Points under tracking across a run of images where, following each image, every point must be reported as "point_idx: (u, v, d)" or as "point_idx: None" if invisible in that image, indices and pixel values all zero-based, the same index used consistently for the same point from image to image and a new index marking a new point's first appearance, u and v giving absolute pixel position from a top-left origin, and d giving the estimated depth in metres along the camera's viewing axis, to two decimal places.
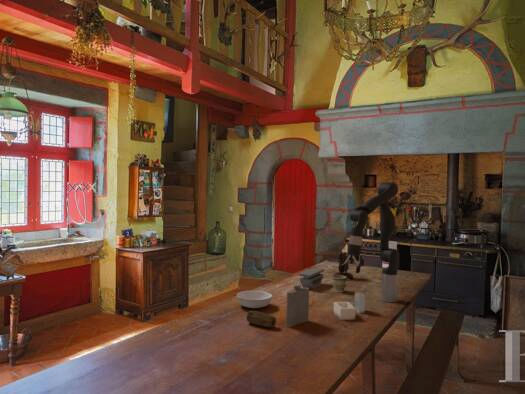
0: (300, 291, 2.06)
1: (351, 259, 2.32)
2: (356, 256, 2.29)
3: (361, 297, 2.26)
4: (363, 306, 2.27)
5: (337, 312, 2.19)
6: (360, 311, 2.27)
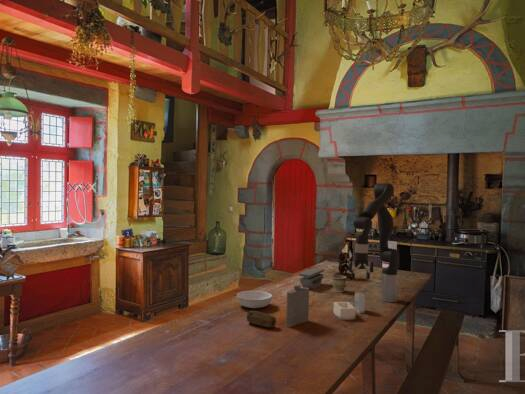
0: (300, 291, 2.06)
1: (360, 267, 2.28)
2: (366, 263, 2.29)
3: (361, 297, 2.26)
4: (363, 306, 2.27)
5: (337, 312, 2.19)
6: (360, 311, 2.27)
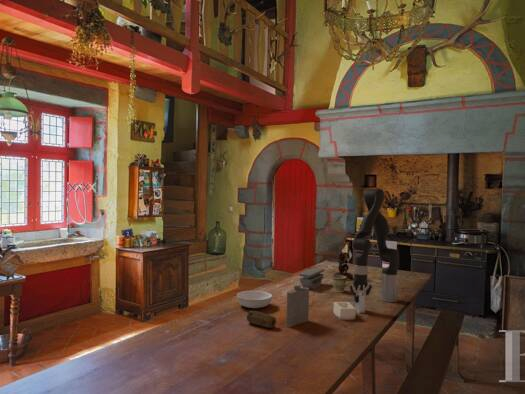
0: (300, 291, 2.06)
1: (360, 289, 2.29)
2: (365, 284, 2.29)
3: (361, 297, 2.26)
4: (363, 305, 2.27)
5: (337, 312, 2.19)
6: (360, 311, 2.27)
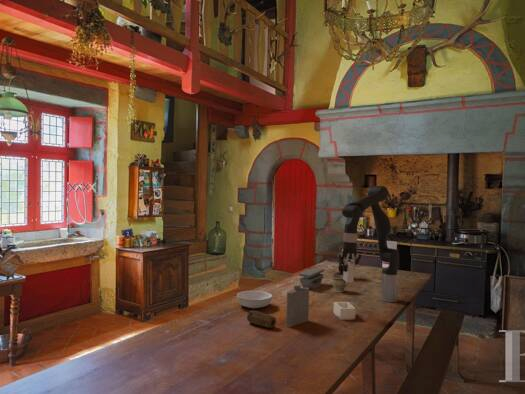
0: (300, 291, 2.06)
1: (349, 257, 2.21)
2: (355, 253, 2.21)
3: (350, 266, 2.18)
4: (352, 275, 2.19)
5: (337, 312, 2.19)
6: (349, 280, 2.18)
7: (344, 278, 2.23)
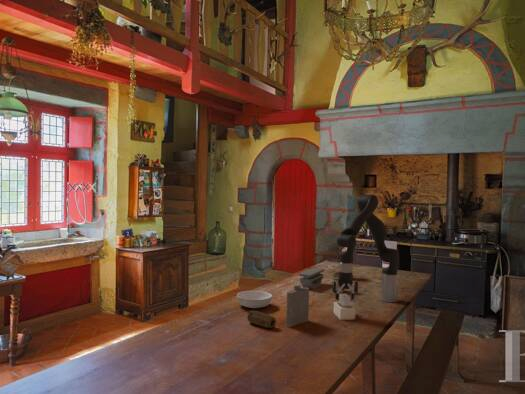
0: (300, 291, 2.06)
1: (344, 287, 2.19)
2: (350, 283, 2.19)
3: (346, 299, 2.17)
4: (348, 307, 2.17)
5: (337, 312, 2.19)
6: None
7: None
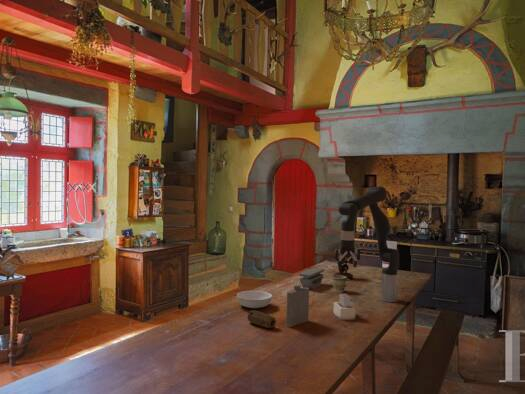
0: (300, 291, 2.06)
1: (347, 255, 2.21)
2: (353, 251, 2.21)
3: (346, 299, 2.17)
4: (348, 307, 2.17)
5: (337, 312, 2.19)
6: None
7: None
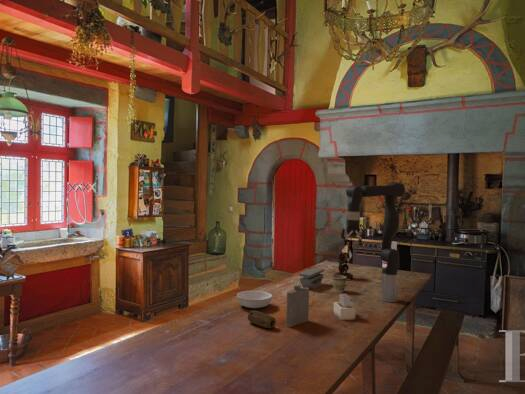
0: (300, 291, 2.06)
1: (352, 234, 2.40)
2: (358, 230, 2.40)
3: (346, 299, 2.17)
4: (348, 307, 2.17)
5: (337, 312, 2.19)
6: None
7: None
